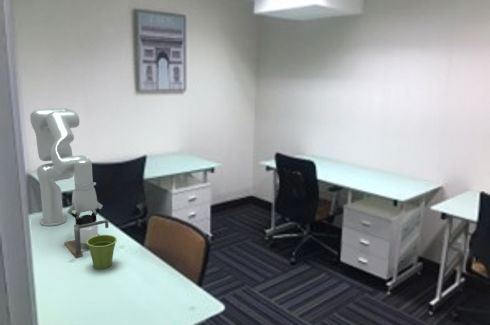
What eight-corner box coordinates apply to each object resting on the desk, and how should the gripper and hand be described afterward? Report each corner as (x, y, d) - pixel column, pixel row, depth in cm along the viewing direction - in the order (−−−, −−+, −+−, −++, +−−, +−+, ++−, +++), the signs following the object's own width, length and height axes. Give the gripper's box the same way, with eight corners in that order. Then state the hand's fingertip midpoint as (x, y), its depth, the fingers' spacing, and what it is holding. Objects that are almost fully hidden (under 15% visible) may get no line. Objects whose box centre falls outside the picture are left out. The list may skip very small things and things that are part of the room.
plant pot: (108, 273, 161) (107, 247, 159) (82, 269, 164) (80, 244, 161) (123, 260, 173) (122, 236, 170) (98, 257, 175) (96, 233, 172)
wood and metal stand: (76, 258, 173) (73, 226, 170) (64, 245, 185) (62, 215, 182) (112, 248, 183) (110, 219, 180) (98, 237, 195) (97, 208, 192)
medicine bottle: (98, 238, 187) (97, 213, 185) (91, 244, 180) (89, 219, 178) (83, 237, 188) (82, 212, 185) (76, 243, 181) (74, 218, 178)
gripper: (100, 181, 187) (102, 218, 191) (61, 187, 176) (63, 226, 180) (106, 185, 181) (108, 222, 185) (66, 191, 170) (69, 231, 174)
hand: (86, 224), depth 182 cm, fingers closed on medicine bottle, 6 cm apart
